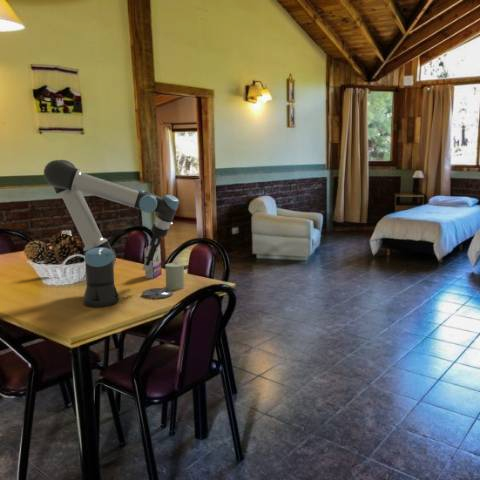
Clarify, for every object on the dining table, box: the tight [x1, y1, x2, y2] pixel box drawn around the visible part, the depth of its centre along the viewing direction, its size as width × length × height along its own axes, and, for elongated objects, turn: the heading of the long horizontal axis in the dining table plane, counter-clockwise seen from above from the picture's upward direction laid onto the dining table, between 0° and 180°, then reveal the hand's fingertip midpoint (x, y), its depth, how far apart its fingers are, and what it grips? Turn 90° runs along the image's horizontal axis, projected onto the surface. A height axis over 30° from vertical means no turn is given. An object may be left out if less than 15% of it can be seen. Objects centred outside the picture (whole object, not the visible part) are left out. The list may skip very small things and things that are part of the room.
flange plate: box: [141, 287, 174, 300], centre depth 218 cm, size 14×14×1 cm
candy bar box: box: [143, 244, 162, 280], centre depth 251 cm, size 11×5×16 cm, turn 167°
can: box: [164, 262, 185, 291], centre depth 229 cm, size 9×9×12 cm
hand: (146, 263), depth 229 cm, fingers open, 13 cm apart
